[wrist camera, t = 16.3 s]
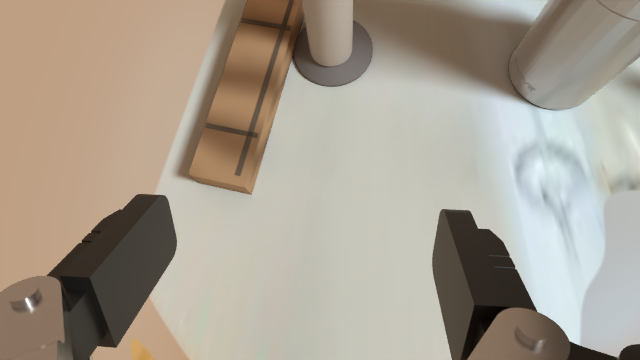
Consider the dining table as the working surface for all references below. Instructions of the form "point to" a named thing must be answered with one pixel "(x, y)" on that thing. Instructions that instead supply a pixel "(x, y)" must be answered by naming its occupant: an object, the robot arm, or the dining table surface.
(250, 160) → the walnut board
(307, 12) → the beverage can
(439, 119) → the dining table surface
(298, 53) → the end pad
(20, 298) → the robot arm
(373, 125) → the dining table surface
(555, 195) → the dining table surface
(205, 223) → the dining table surface
